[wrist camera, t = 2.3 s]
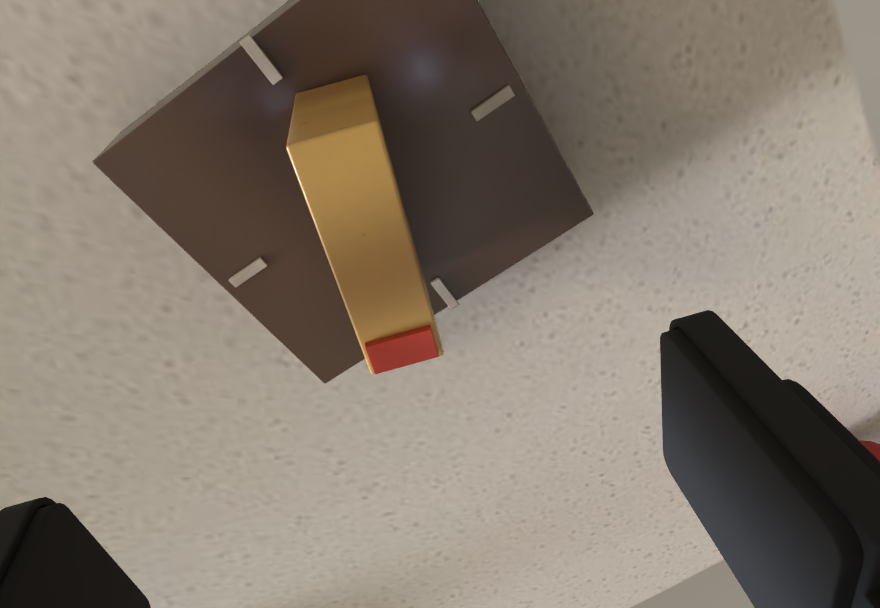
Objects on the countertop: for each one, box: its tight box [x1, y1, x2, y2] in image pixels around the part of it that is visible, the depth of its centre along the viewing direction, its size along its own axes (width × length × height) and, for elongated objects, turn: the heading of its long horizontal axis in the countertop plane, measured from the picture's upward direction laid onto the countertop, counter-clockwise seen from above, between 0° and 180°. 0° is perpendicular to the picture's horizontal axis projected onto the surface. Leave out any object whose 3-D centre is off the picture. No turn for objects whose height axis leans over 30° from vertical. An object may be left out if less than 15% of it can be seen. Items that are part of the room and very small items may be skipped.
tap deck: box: [93, 0, 593, 383], centre depth 21 cm, size 12×11×3 cm
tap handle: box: [286, 75, 444, 374], centre depth 18 cm, size 7×2×5 cm, turn 13°
